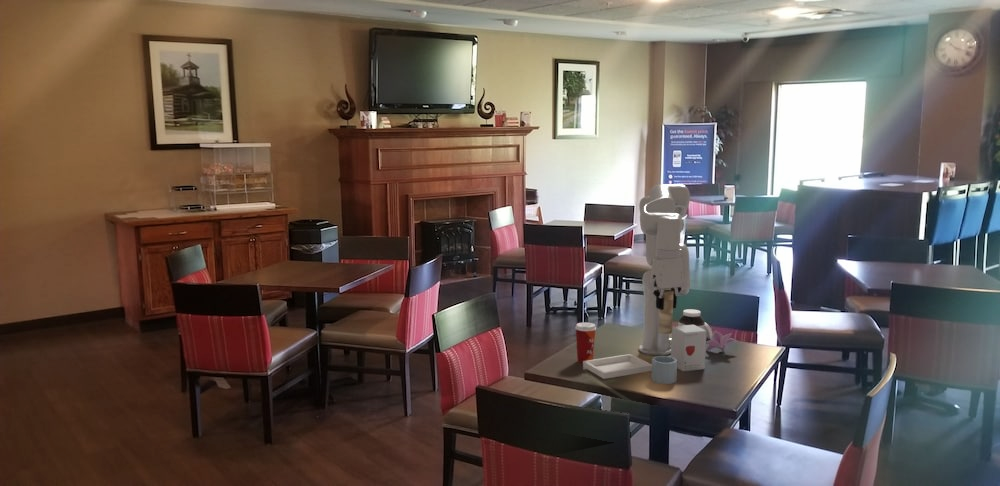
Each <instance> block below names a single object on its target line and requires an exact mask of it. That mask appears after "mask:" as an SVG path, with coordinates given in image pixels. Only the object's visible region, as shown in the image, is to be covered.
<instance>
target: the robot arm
mask: <svg viewBox="0 0 1000 486" xmlns="http://www.w3.org/2000/svg"><path fill="white" fill-rule="evenodd" d="M690 202H691V193H690V190H689V188H688V187H687V186H686V185H685V184H681V183H677V184H676V183H673V184H671V183H661V184H656V185H654V186H652V187H651V188H650V190H649V192H648V196H644V197H642V198H641V199H640V201H639V207H638V209H639V224H640V229H641V232H642V234H644V235H645V256H646V257H645V258H646V263H647V265H648V266H650V267H651V270H646V271H645V272H644V273H643V275H642V278H641V279H642V281H641V282H642V289H643V332H642V333H643V334H642V335H643V336H642V344H640V345H639V347H638V351H639V352H641V353H643V354H646V355H649V356H668V355H671V341H672V337H671V338H669V337H670V335H669V334H663V333H659V309H660V310H663V309H664V298H662V296H663V292H664V290H665V289H666V290H673V291H674V293H673V309H677V303H678V302H677V301H678V300H677V297H679V296H686V295H687V294H689V292H690V290H691V289H690V288H691V275H690V272H691V271H690V269H691V268H690V252H689V248H688V246H687V245H686V244H685V243H683V242H681V234H682V232H683V230H684V227H685V219H684V218H683V217H685V216H686V214H687V211H688V208H689V204H690Z"/></svg>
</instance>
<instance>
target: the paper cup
mask: <svg viewBox="0 0 1000 486" xmlns="http://www.w3.org/2000/svg"><path fill="white" fill-rule="evenodd" d="M574 328H575V336H576V337H575V338H576V340H575V341H576V355H577V358H576V359H577V362H578V363H579V364H582V365H583V361H587V360H593V359H594V353H595V339H596V330H597V327H596V324H594V323H592V322H578V323H576V326H575V327H574Z"/></svg>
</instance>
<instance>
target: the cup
mask: <svg viewBox="0 0 1000 486" xmlns="http://www.w3.org/2000/svg"><path fill="white" fill-rule="evenodd" d="M651 364H652V371H651V377H650V378H651V381H652V382H654V383H658V384H662V385H669V384H670V385H671V384H675V383H676V382H677V380H678V379H677V374H678V368H677V359H675V358H673V357H671V356H668V355H655V356H654V357H651Z"/></svg>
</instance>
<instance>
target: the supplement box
mask: <svg viewBox="0 0 1000 486" xmlns="http://www.w3.org/2000/svg"><path fill="white" fill-rule="evenodd" d="M671 339H672V341H671V353H670V357H673V358H675V359H677V370H679V371H682V372H691V371H697V370H706V369H705V366H706V365H705V364H706V349H707V347H706V346H707V344H706V341H707V338H706V330H704V329H702V328H700V327H698V326H696V325H681V326H678V325H672V333H671Z"/></svg>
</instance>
